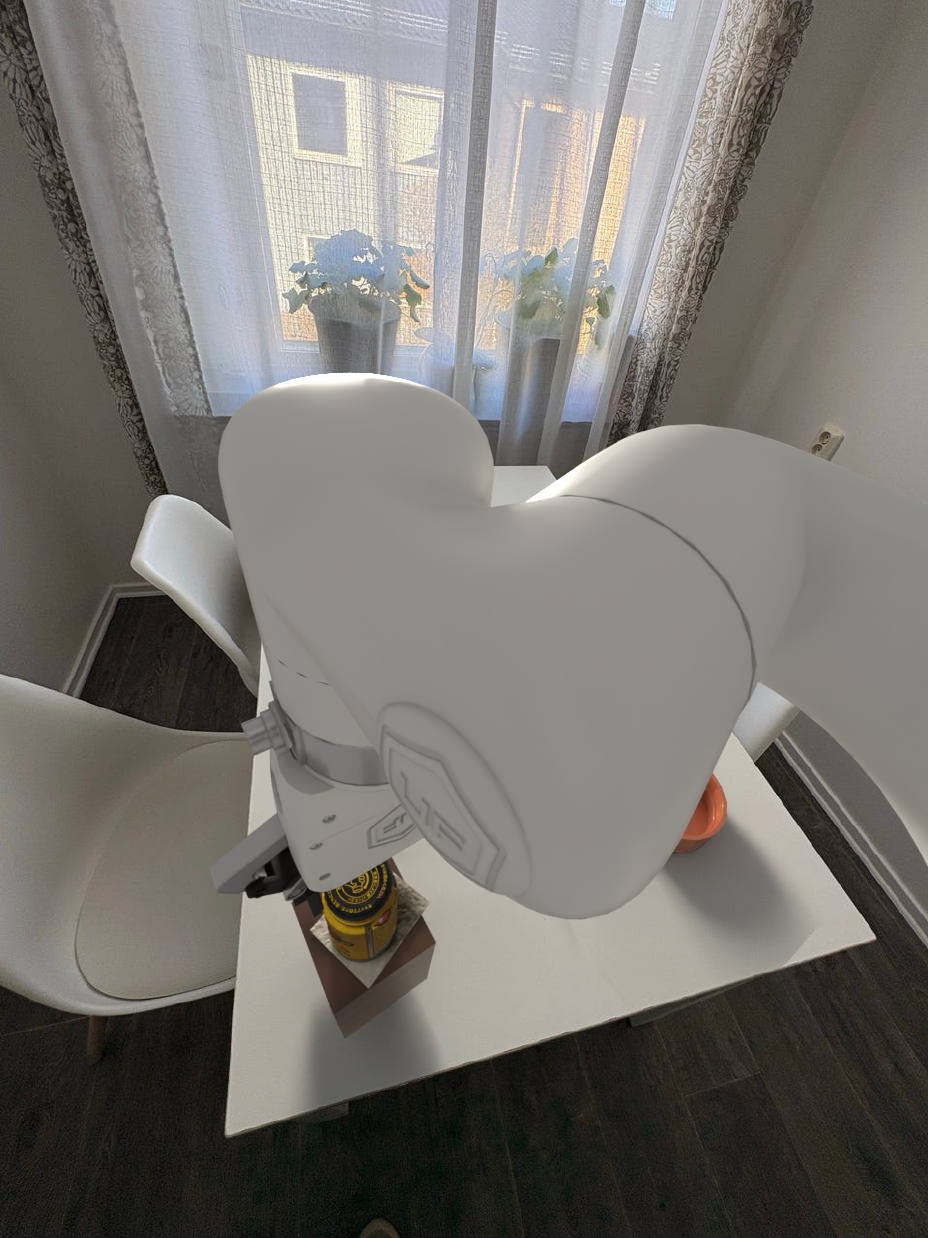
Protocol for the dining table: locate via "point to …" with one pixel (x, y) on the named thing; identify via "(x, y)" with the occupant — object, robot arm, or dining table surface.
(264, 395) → the robot arm
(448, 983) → the dining table surface
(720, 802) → the dish
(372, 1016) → the stand
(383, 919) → the condiment
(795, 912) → the dining table surface
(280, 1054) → the dining table surface
